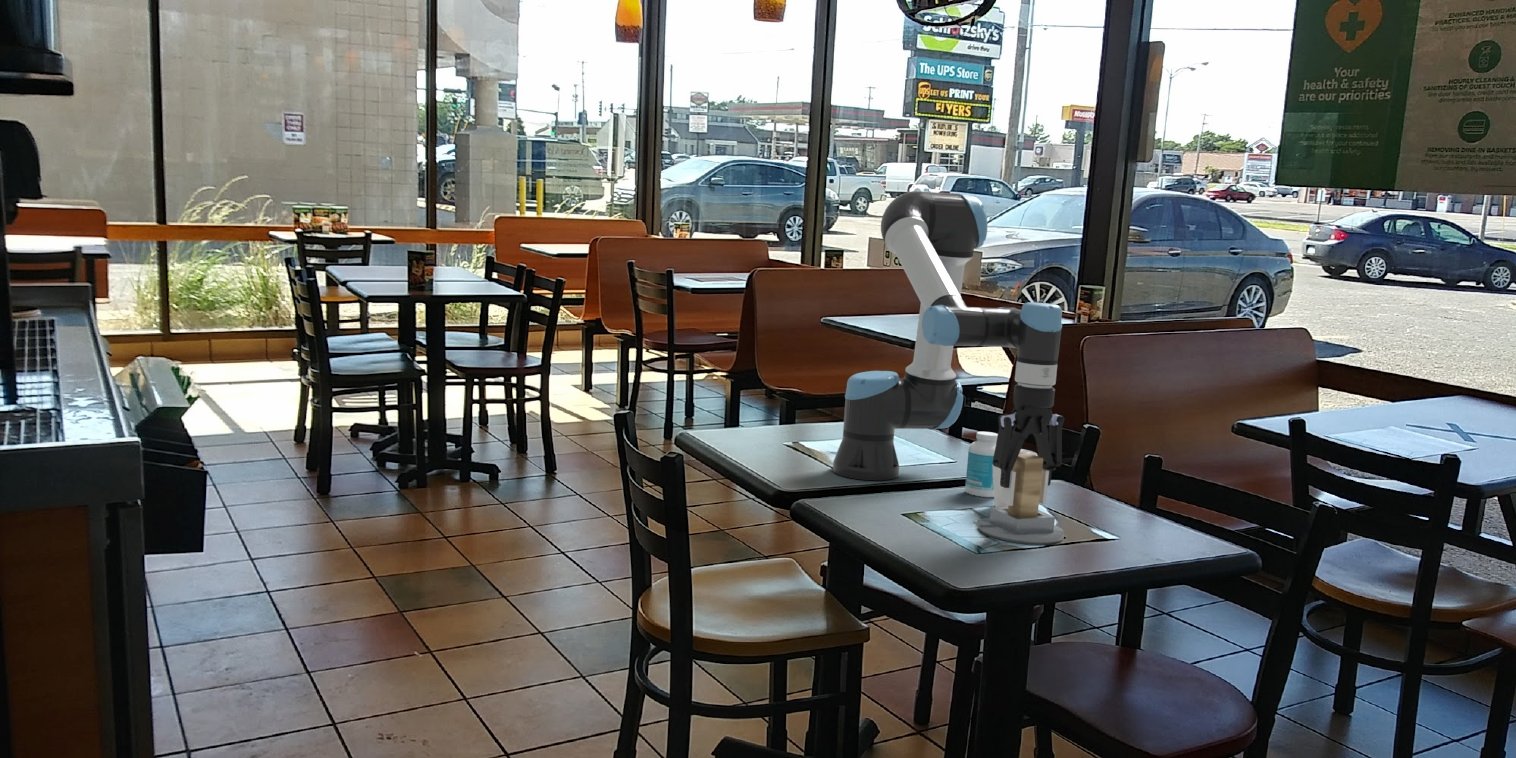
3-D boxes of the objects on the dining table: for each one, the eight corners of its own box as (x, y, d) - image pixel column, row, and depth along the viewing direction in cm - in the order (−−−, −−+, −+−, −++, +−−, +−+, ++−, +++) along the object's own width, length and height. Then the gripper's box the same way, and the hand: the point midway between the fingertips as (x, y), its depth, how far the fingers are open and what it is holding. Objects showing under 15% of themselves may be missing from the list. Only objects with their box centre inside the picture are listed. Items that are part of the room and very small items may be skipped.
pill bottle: (997, 500, 244) (1002, 438, 242) (962, 495, 246) (967, 434, 244) (1001, 492, 251) (1006, 432, 249) (967, 488, 253) (972, 428, 251)
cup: (1033, 516, 232) (1039, 458, 231) (988, 511, 234) (993, 454, 232) (1032, 505, 241) (1037, 450, 239) (988, 501, 243) (993, 446, 241)
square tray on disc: (962, 523, 224) (964, 503, 223) (1029, 519, 230) (1031, 499, 229) (1010, 547, 209) (1012, 525, 208) (1081, 541, 215) (1083, 521, 215)
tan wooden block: (1006, 524, 220) (1013, 454, 218) (1023, 523, 222) (1030, 453, 219) (1018, 530, 217) (1025, 459, 214) (1036, 529, 218) (1043, 458, 216)
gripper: (1002, 388, 208) (991, 510, 211) (1090, 387, 216) (1078, 505, 219) (979, 382, 215) (968, 500, 218) (1065, 381, 223) (1053, 495, 226)
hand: (1023, 502), depth 219 cm, fingers open, 7 cm apart
